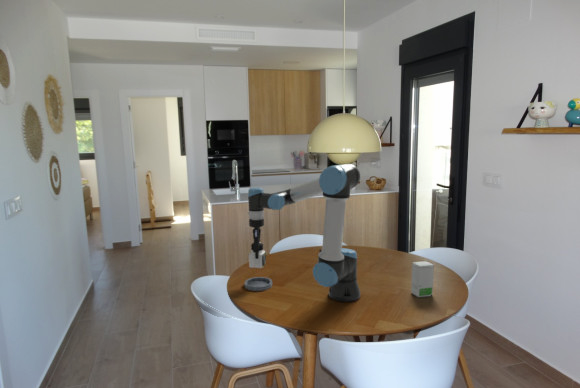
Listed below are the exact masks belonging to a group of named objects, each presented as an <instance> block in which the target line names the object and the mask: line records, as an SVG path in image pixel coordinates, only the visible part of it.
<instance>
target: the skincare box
mask: <svg viewBox="0 0 580 388" xmlns="http://www.w3.org/2000/svg"><path fill="white" fill-rule="evenodd" d="M411 264H412V268H411V287H410V288H411V289H410V291H411V294H413V295H414V296H415V297H417V298H424V297H432V296H433V291H434V290H433V289H434V288H433V287H434V272H435V271H434V268H435V264H432V263H431V262H428V261H414V262H412V263H411ZM431 295H432V296H431Z"/></svg>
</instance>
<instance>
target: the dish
mask: <svg viewBox="0 0 580 388" xmlns="http://www.w3.org/2000/svg"><path fill="white" fill-rule="evenodd" d="M244 287H245V289H246V290H248V291H250V292H251V291H254V292H261V291H267V290H269V289H271V288H272V287H273V280H272V278H270V277H265V276H254V277H251V278H247V279H246V280H245V281H244Z"/></svg>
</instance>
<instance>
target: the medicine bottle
mask: <svg viewBox="0 0 580 388" xmlns="http://www.w3.org/2000/svg"><path fill="white" fill-rule="evenodd" d="M250 247H251V248H250V249H251V250H250V253H249V254H248V267H249V268H254V269H255V268H256V269H263V268H264V267H265V265H266V263H267V253H266V250H264V244H263V242H261V241H260V242H259V252H260V265H254V252H253V251H254V242H252V243H251V244H250Z"/></svg>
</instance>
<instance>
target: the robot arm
mask: <svg viewBox="0 0 580 388" xmlns="http://www.w3.org/2000/svg"><path fill="white" fill-rule="evenodd" d="M360 180H361V173H360V170H359V168H358V167H356V165H354V164H352V163H341V164H335V165H330V166H327V167H326V168H324V169H323V170H322V171H321V173H320V174H319V178H316V179H314V180H311V181H308V182H305V183H303V184H300V185H296V186H294V187H292V188H288V189H285V190H282V191H277V192H272V193H270V192H269V193H267V192H264V188H262V187H251V188H249V189H248V192H247V194H248V195H247V199H248V200H247V201H248V212H247V215H248V225H249V227H250V228H253V229H252V234H253V235H252V238H253V243H254V251H253V252H254V265H260V252H259V242H260V243H261V231H262V230H261V228H262V227H264V226H265V219H264V217H265V212H264V211H265V209H267V210H273V211H278V210H280V211H281V210H282V209H283V208H284V207H285V206H290V205H293V204H295V203H298V202H301V201H304V200H307V199H310V198H313V197H317V196H319V195H322V196H323V198H324V199H325V209H324V218H323V219H324V221H323V222H324V223H323V233H322V234H323V236H322V246H321V251H320V252H318V257H317V262H316V264H314V265H313V268H312V275H313V278H314V280H315V281H316V282H317V283H318V285H320V286H322V287H325V288H329V289H328V297H330V299H332V300H333V301H336V302H344V303H350V302H354V301H357V300H359V299H360V298H361V290H360V287H359V283H358V253H357V251H356V250H354V249H351V248H345V247H343V238H344V237H343V236H344V228H345V227H344V223H345V213H346V202H347V200H349V199H350V196H351V195H350V194H351V190H352V189H354V188H356V187H357V186H358V184H359V183H360Z"/></svg>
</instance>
